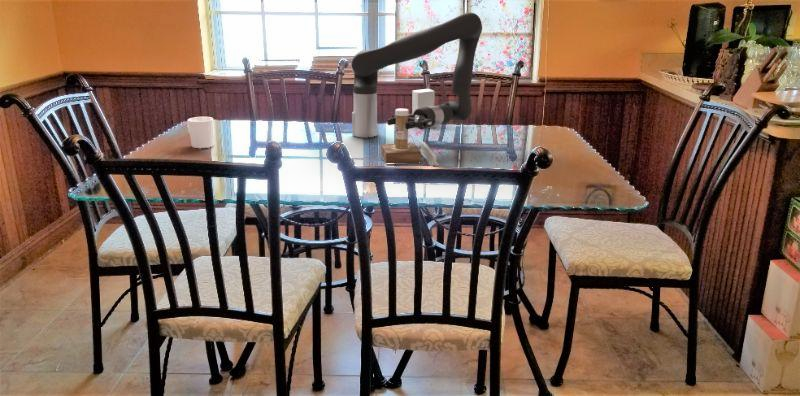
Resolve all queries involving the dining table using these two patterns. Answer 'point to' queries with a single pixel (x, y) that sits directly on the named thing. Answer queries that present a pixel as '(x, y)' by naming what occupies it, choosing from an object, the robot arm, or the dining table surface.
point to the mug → (201, 132)
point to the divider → (428, 154)
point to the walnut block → (400, 154)
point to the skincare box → (422, 98)
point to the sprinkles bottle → (401, 128)
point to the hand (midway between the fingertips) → (397, 124)
